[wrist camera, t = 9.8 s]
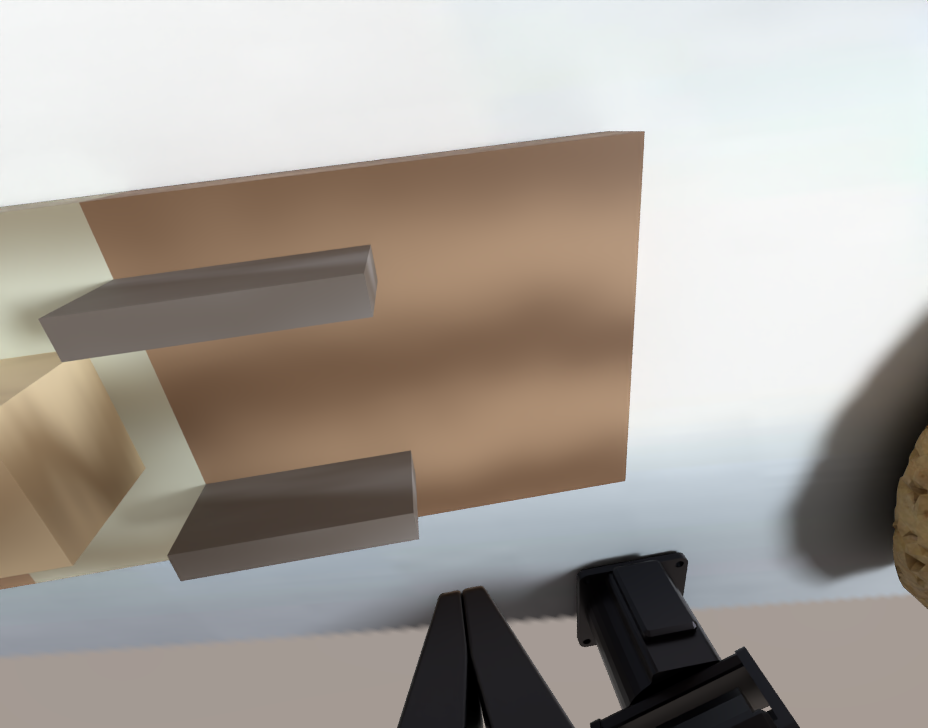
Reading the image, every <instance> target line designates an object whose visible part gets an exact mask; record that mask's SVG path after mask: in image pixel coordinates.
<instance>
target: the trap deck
mask: <svg viewBox="0 0 928 728" xmlns="http://www.w3.org/2000/svg"><path fill="white" fill-rule="evenodd" d="M644 133H645V131H606V132H598V133H590V134H582V135H574V136H566V137H558V138H550V139H542V140H534V141H526V142H518V143H510V144H502V145H494V146H486V147H478V148H470V149H462V150H454V151H446V152H438V153H430V154H422V155H414V156H406V157H398V158H390V159H382V160H374V161H366V162H358V163H350V164H342V165H334V166H326V167H318V168H310V169H302V170H294V171H286V172H278V173H270V174H262V175H254V176H246V177H238V178H230V179H222V180H214V181H206V182H198V183H190V184H182V185H174V186H166V187H158V188H150V189H142V190H134V191H126V192H118V193H110V194H102V195H94V196H86V197H78V198H70V199H62V200H54V201H46V202H38V203H30V204H22V205H14V206H6V207H0V359H7V358H14V357H21V356H28V355H35V354H42V353H49V352H56V353H57V355H58V356H59V358H60V360H61V362H68V361H75V360H82V359H88V358H90V360H91V362H92V364H93V366H94V368H95V370H96V371H97V373H98V375H99V377H100V379H101V381H102V383H103V385H104V387H105V389H106V391H107V393H108V395H109V397H110V399H111V401H112V403H113V405H114V407H115V409H116V411H117V413H118V415H119V417H120V419H121V421H122V423H123V425H124V427H125V429H126V431H127V433H128V434H129V436H130V438H131V440H132V442H133V444H134V446H135V448H136V450H137V452H138V454H139V456H140V458H141V460H142V462H143V464H144V466H145V468H146V469H145V470H144V471H143V473H142V474H141V475H140V477H139V478H138V479H137V481H136V482H135V483H134V485H133V486H132V487H131V489H130V490H129V491H128V493H127V494H126V495H125V497H124V498H123V499H122V501H121V502H120V503H119V505H118V506H117V508H116V509H115V510H114V512H113V513H112V514H111V516H110V517H109V518H108V520H107V521H106V522H105V524H104V525H103V526H102V528H101V529H100V530H99V532H98V533H97V534H96V536H95V537H94V538H93V540H92V541H91V542H90V544H89V545H88V546H87V548H86V549H85V550H84V552H83V553H82V554H81V556H80V557H79V559H78V560H77V561H76V563H75V564H74V565H73V566H69V567H63V568H57V569H52V570H46V571H40V572H34V573H28V574H22V575H16V576H10V577H4V578H0V589H6V588H12V587H17V586H23V585H29V584H35V583H40V582H46V581H52V580H58V579H63V578H69V577H75V576H81V575H86V574H92V573H98V572H104V571H109V570H115V569H121V568H127V567H132V566H138V565H144V564H150V563H155V562H161V561H167V560H170V562H171V564H172V566H173V568H174V570H175V571H176V573H177V575H178V577H179V579H180V581H185V580H190V579H196V578H202V577H207V576H213V575H219V574H224V573H230V572H236V571H241V570H247V569H252V568H258V567H264V566H269V565H275V564H281V563H286V562H292V561H298V560H303V559H309V558H315V557H320V556H326V555H332V554H337V553H343V552H349V551H354V550H360V549H366V548H371V547H377V546H383V545H388V544H394V543H400V542H405V541H411V540H417V539H419V530H418V517H420V516H426V515H432V514H438V513H443V512H449V511H455V510H461V509H466V508H472V507H478V506H484V505H489V504H495V503H501V502H507V501H512V500H518V499H524V498H530V497H535V496H541V495H547V494H553V493H558V492H564V491H570V490H576V489H581V488H587V487H593V486H599V485H604V484H610V483H616V482H622V481H625V476H626V458H627V440H628V422H629V404H630V386H631V368H632V350H633V331H634V313H635V295H636V277H637V259H638V241H639V223H640V205H641V187H642V169H643V151H644Z"/></svg>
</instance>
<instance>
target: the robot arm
mask: <svg viewBox="0 0 928 728" xmlns="http://www.w3.org/2000/svg"><path fill="white" fill-rule="evenodd" d="M687 566H688V560H687V559H686V557H685V556H684V555H683V553H673V554H667V555H662V556H656V557H651V558H646V559H640V560H635V561H629V562H624V563H619V564H613V565H608V566H602V567H597V568H591V569H586V570H583V571H581V572H579V574H578V575H577V638H578V641H579V644H580V645H581V646H583V647H588V646H593V645H597V647H598V649H599V652H600V654H601V657H602V659H603V662H604V665H605V667H606V670H607V672H608V675H609V677H610V680H611V683H612V685H613V688H614V690H615V693H616V696H617V698H618V700H619V703H620V706H621V708H622V710H620V711H618V712H616V713H614V714H612V715H610V716H608V717H606V718H604V719H602V720H601V719H597V720H595V721H593V722H591V723H590V727H591V728H800V727H799V726H798V724H797V723H796V721H795V720H794V718H793V717H792V715H791V714H790V712H789V711H788V710H787V708H786V707H785V705H784V704H783V702H782V701H781V699H780V698H779V696H778V695H777V693H776V692H775V690H774V689H773V688H772V686H771V685H770V683H769V682H768V680H767V679H766V677H765V676H764V675H763V673H762V672H761V670H760V669H759V667H758V666H757V664H756V663H755V661H754V660H753V658H752V657H751V655H750V654H749V652H748V651H747V649H746V648H745V647H742V648H740V649H738V650H736V651H735V654H733V655H731V656H729V657H727V658H725V659H723V660H721V658H720V657H719V655H718V653H717V652H716V650H715V648H714V647H713V645H712V644H711V642H710V640H709V639H708V637H707V635H706V634H705V632H704V630H703V629H702V627H701V626H700V624H699V622H698V621H697V619H696V617H695V616H694V614H693V613H692V611H691V609H690V608H689V606H688V604H687V603H686V601H685V599H684V598H683V593H684V586H685V580H686V573H687ZM768 706H770V707H771V708H772V709H771V710H769V711H767V712H765V711H763V710H761V709H763V708H765V707H768ZM481 709H482V710H481ZM482 714H483V718H484V723H485V727H486V728H575V727H574V726H573V724H572V723H571V721H570V720H569V718H568V716H567V715H566V713H565V712H564V710H563V709H562V707H561V706H560V704H559V703H558V701H557V699H556V698H555V696H554V695H553V693H552V692H551V690H550V689H549V687H548V685H547V684H546V682H545V681H544V679H543V678H542V676H541V675H540V673H539V671H538V670H537V668H536V667H535V665H534V664H533V662H532V661H531V659H530V657H529V656H528V655H527V653H526V651H525V650H524V649H523V647H522V645H521V643H520V642H519V640H518V639H517V637H516V636H515V634H514V633H513V631H512V630H511V628H510V626H509V625H508V623H507V622H506V620H505V619H504V617H503V616H502V614H501V612H500V611H499V609H498V608H497V606H496V605H495V603H494V602H493V600H492V598H491V597H490V595H489V594H488V592H487V591H486V589H485V588H484V587H483V586H476V587H471V588H466V589H464V590H463V592H462V593H461V591H458V590H457V591H452V592H447V593H442V594H441V595H440V596H439V598H438V600H437V604H436V607H435V610H434V613H433V616H432V619H431V623H430V626H429V629H428V632H427V635H426V639H425V641H424V645H423V648H422V651H421V654H420V657H419V660H418V664H417V667H416V670H415V673H414V676H413V679H412V683H411V686H410V689H409V692H408V695H407V698H406V701H405V705H404V708H403V711H402V714H401V717H400V721H399V724H398V727H397V728H483V718H482Z"/></svg>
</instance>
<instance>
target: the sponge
mask: <svg viewBox="0 0 928 728" xmlns="http://www.w3.org/2000/svg"><path fill="white" fill-rule="evenodd" d="M892 526H893V527H894V528H895V531H894V535H893V559H894V562H895V567H896V571H897V574H898V577H899V580H900V582H901V584H902V585H903V587H904V588H905V589H906V590H907V591H908V592H910V593H911V594H912V595H913V596H914V597H915V598H916V599H917V600H918V601H920V602H921V603H922V604H923V605H924V606H925V607H926V608H927V609H928V425H927V426H926V428H925V429H924V431H923V432H922V433H921V434H920V436H919V438H918V440H917V442H916V444H915V448H914V449H913V451H912V452H911V454H910V457H909V464H908V466H907V468H906V470H905V473H904V475H903V477H900V480H899V484H898V488H897V502H896V507H895V521H894V523H893V525H892Z"/></svg>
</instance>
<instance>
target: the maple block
mask: <svg viewBox="0 0 928 728" xmlns="http://www.w3.org/2000/svg"><path fill="white" fill-rule="evenodd" d="M145 469H146V468H145V466H144V464H143V462H142V460H141V458H140V456H139V454H138V452H137V450H136V448H135V446H134V444H133V442H132V440H131V438H130V436H129V434H128V433H127V431H126V429H125V427H124V425H123V423H122V421H121V419H120V417H119V415H118V413H117V411H116V409H115V407H114V405H113V403H112V401H111V399H110V397H109V395H108V393H107V391H106V389H105V387H104V385H103V383H102V381H101V379H100V377H99V375H98V373H97V371H96V370H95V368H94V366H93V364H92V362H91V360H90V358H88V359H82V360H75V361H68V362H61V360H60V358H59V356H58V355H57V353H56V352H49V353H42V354H35V355H28V356H21V357H14V358H7V359H0V578H4V577H10V576H16V575H22V574H28V573H34V572H40V571H46V570H52V569H57V568H63V567H69V566H73V565H74V564H75V563H76V561H77V560H78V559H79V557H80V556H81V554H82V553H83V552H84V550H85V549H86V548H87V546H88V545H89V544H90V542H91V541H92V540H93V538H94V537H95V536H96V534H97V533H98V532H99V530H100V529H101V528H102V526H103V525H104V524H105V522H106V521H107V520H108V518H109V517H110V516H111V514H112V513H113V512H114V510H115V509H116V508H117V506H118V505H119V503H120V502H121V501H122V499H123V498H124V497H125V495H126V494H127V493H128V491H129V490H130V489H131V487H132V486H133V485H134V483H135V482H136V481H137V479H138V478H139V477H140V475H141V474H142V473H143V471H144V470H145Z"/></svg>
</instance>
